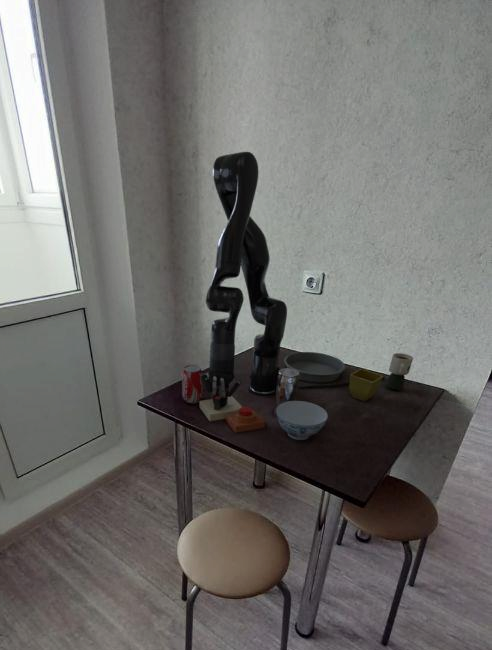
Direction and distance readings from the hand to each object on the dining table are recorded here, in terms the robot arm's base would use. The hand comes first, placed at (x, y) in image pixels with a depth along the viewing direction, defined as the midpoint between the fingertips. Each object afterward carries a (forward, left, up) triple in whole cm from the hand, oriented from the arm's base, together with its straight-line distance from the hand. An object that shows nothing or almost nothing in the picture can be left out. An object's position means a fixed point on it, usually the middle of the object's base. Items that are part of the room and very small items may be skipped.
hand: (219, 405), depth 131 cm
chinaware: (-18, +20, -3) cm, 27 cm away
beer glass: (-20, +7, -3) cm, 21 cm away
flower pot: (-54, +5, -3) cm, 54 cm away
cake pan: (-50, -21, -3) cm, 54 cm away
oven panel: (-1, -1, -3) cm, 3 cm away
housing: (-5, +9, -3) cm, 11 cm away
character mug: (-72, +2, -3) cm, 72 cm away
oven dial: (0, 0, 0) cm, 0 cm away
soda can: (+5, -12, -3) cm, 14 cm away
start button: (-5, +9, +1) cm, 10 cm away
